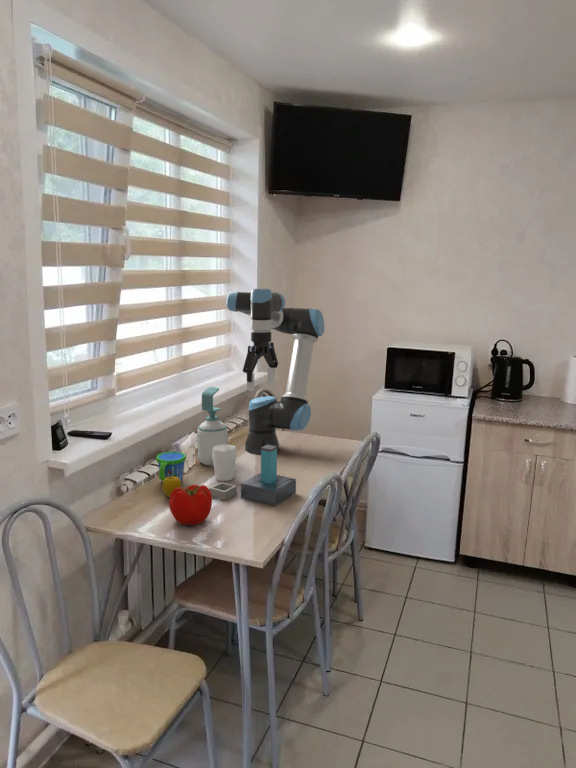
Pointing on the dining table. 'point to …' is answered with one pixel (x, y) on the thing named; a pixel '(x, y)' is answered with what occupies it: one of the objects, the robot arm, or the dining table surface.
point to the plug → (269, 464)
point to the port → (268, 490)
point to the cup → (224, 461)
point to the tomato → (190, 504)
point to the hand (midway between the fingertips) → (261, 387)
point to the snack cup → (171, 465)
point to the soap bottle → (210, 429)
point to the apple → (170, 485)
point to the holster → (223, 490)
